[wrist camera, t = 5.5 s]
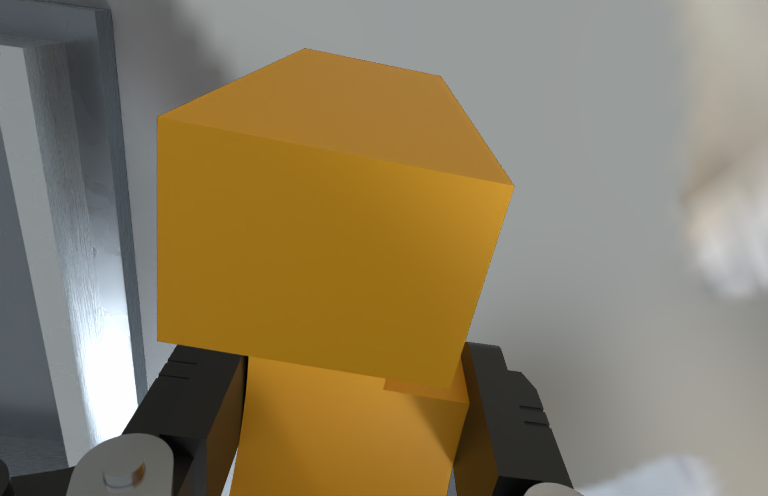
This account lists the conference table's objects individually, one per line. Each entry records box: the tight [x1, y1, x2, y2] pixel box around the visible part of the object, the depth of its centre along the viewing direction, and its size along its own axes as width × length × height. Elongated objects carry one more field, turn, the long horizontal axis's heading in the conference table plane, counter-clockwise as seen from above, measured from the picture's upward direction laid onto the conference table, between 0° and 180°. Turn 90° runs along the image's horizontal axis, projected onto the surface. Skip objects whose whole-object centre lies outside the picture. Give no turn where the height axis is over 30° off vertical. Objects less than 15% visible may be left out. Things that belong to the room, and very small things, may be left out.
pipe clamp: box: [157, 48, 514, 496], centre depth 9 cm, size 12×4×6 cm, turn 169°
